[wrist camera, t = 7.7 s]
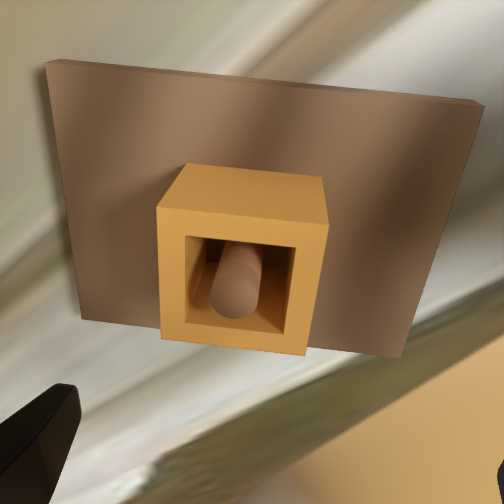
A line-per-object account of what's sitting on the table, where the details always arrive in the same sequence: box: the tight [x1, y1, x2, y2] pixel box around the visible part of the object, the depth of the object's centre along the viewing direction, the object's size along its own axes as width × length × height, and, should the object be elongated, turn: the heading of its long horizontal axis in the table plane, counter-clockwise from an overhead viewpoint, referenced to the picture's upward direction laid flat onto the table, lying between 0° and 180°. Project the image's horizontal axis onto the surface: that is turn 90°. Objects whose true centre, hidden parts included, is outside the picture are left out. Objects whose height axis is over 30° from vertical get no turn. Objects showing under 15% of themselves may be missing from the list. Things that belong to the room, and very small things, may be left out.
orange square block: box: [156, 163, 329, 356], centre depth 17 cm, size 5×5×4 cm
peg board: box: [45, 59, 485, 358], centre depth 17 cm, size 16×12×6 cm
